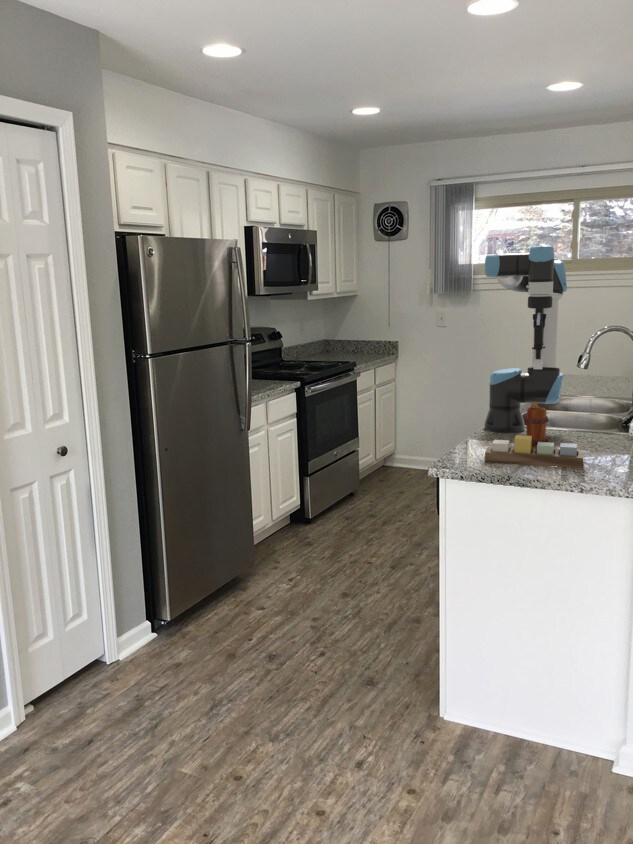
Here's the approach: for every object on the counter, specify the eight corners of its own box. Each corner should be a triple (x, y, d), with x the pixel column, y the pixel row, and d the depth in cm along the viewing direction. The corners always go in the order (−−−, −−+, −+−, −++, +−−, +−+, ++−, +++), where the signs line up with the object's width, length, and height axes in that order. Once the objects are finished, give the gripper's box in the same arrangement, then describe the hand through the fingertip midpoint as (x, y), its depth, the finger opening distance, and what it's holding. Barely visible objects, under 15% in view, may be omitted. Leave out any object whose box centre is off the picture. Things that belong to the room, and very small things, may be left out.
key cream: (493, 454, 241) (494, 439, 240) (509, 455, 239) (509, 440, 238) (492, 458, 237) (492, 443, 235) (507, 459, 235) (508, 444, 234)
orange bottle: (549, 452, 245) (550, 408, 242) (524, 451, 247) (525, 408, 244) (544, 441, 259) (546, 400, 256) (521, 441, 261) (522, 400, 258)
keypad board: (488, 455, 244) (488, 445, 244) (582, 460, 234) (583, 449, 233) (484, 462, 235) (485, 452, 234) (582, 468, 225) (583, 457, 224)
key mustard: (515, 449, 238) (516, 435, 237) (531, 450, 237) (531, 435, 235) (514, 453, 234) (514, 438, 233) (530, 454, 232) (530, 439, 231)
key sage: (537, 456, 236) (538, 441, 235) (553, 457, 235) (554, 442, 233) (536, 460, 232) (537, 445, 231) (552, 461, 230) (553, 446, 229)
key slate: (560, 457, 234) (560, 443, 233) (576, 458, 232) (577, 443, 231) (559, 462, 229) (560, 446, 228) (576, 462, 228) (576, 447, 226)
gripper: (529, 294, 237) (527, 365, 242) (526, 296, 225) (524, 371, 230) (553, 294, 234) (551, 366, 239) (551, 296, 222) (549, 372, 227)
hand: (537, 368), depth 235 cm, fingers closed
